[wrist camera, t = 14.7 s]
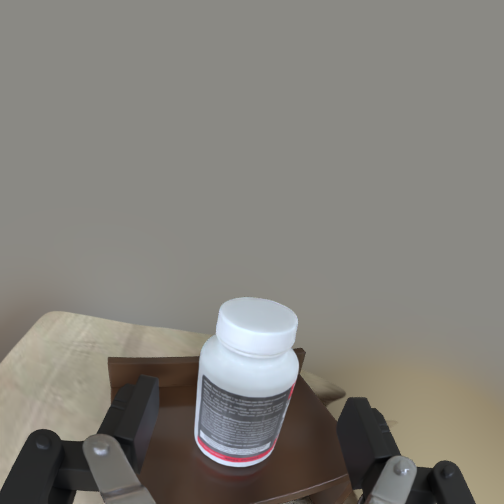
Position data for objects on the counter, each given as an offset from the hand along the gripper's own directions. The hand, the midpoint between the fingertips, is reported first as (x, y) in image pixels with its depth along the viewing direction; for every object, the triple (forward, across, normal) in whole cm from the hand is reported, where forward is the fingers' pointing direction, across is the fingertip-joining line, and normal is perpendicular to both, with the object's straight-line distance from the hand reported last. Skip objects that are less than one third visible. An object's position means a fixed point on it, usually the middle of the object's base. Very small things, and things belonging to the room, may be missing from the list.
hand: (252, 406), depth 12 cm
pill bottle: (+4, 0, +8) cm, 9 cm away
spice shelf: (+5, 0, +16) cm, 16 cm away
